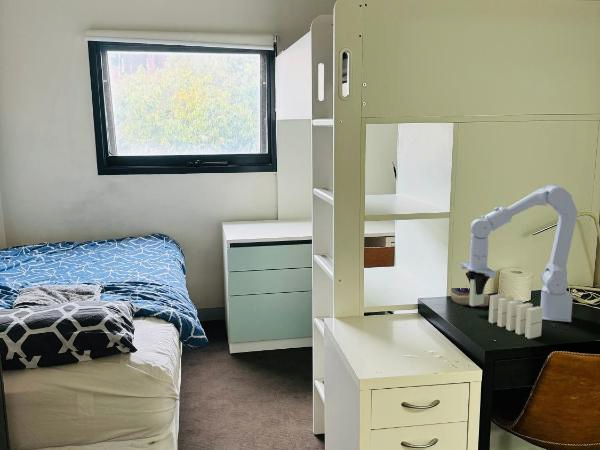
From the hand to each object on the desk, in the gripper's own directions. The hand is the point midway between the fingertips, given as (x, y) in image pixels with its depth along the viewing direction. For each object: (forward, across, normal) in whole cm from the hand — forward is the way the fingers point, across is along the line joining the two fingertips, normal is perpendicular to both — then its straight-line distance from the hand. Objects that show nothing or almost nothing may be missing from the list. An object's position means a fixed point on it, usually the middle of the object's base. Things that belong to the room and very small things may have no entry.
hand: (476, 293), depth 187 cm
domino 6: (+7, +24, 0) cm, 25 cm away
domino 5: (+7, +20, 0) cm, 21 cm away
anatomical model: (+8, -11, +7) cm, 15 cm away
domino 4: (+7, +16, 0) cm, 18 cm away
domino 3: (+7, +13, 0) cm, 15 cm away
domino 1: (+4, 0, 0) cm, 4 cm away
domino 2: (+7, +9, 0) cm, 11 cm away
